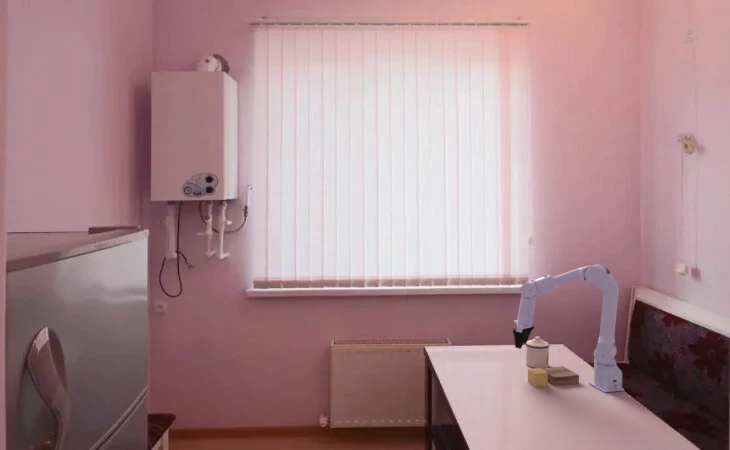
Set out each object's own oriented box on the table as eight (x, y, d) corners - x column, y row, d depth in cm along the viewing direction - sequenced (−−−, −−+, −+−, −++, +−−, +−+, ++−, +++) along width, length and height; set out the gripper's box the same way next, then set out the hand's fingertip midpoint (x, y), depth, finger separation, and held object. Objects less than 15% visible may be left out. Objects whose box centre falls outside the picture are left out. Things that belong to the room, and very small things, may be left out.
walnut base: (578, 383, 197) (579, 375, 196) (554, 385, 195) (554, 377, 194) (563, 373, 206) (563, 366, 206) (539, 376, 204) (539, 368, 204)
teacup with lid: (552, 368, 212) (552, 340, 211) (529, 369, 212) (529, 340, 211) (542, 359, 224) (542, 331, 223) (520, 359, 224) (520, 332, 223)
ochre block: (547, 385, 194) (547, 372, 194) (534, 387, 193) (535, 373, 193) (540, 381, 199) (540, 367, 199) (527, 382, 198) (528, 369, 198)
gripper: (520, 305, 216) (515, 337, 218) (510, 313, 203) (505, 347, 205) (538, 310, 212) (533, 342, 214) (529, 318, 200) (523, 352, 202)
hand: (520, 345), depth 210 cm, fingers open, 7 cm apart
